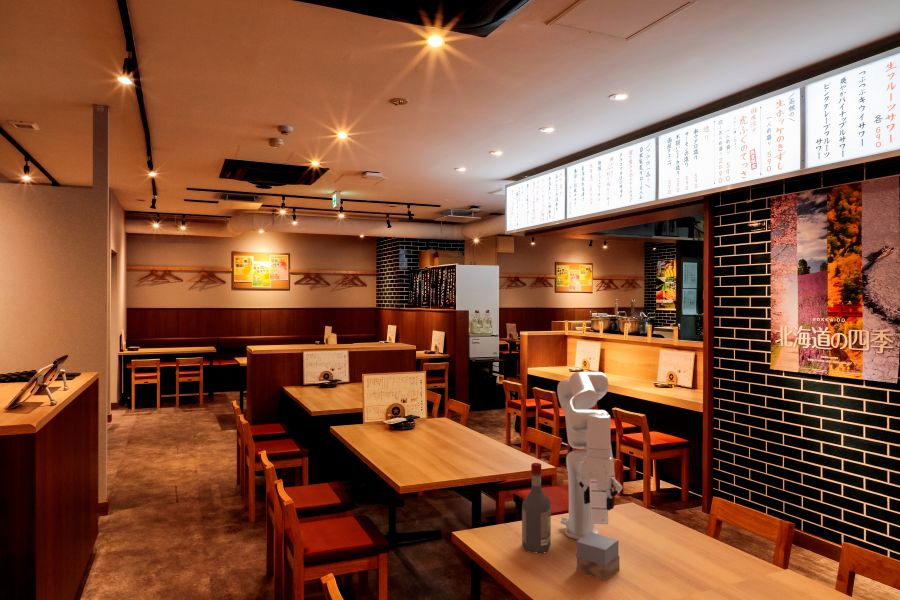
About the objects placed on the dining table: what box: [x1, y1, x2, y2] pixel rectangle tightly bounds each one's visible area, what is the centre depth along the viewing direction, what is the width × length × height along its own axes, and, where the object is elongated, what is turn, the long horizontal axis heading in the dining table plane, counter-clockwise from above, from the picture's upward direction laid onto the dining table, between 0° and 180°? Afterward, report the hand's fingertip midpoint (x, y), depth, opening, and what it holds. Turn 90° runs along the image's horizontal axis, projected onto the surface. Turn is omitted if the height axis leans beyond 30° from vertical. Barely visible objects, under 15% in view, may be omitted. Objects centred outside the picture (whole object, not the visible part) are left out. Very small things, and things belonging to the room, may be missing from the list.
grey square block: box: [575, 532, 620, 566], centre depth 191 cm, size 10×10×5 cm
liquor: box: [521, 462, 552, 554], centre depth 208 cm, size 9×9×30 cm
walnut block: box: [576, 555, 620, 581], centre depth 191 cm, size 10×10×5 cm
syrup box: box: [590, 478, 609, 525], centre depth 190 cm, size 6×6×14 cm
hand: (598, 505), depth 190 cm, fingers closed on syrup box, 7 cm apart
